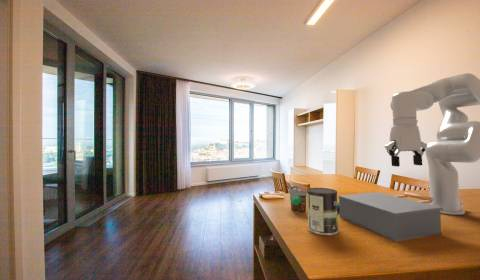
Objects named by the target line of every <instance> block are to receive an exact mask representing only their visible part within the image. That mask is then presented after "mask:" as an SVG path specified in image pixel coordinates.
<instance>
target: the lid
mask: <svg viewBox="0 0 480 280" xmlns="http://www.w3.org/2000/svg"><path fill="white" fill-rule="evenodd" d="M408 197H409V198H413V199H418V200H417V201H416V200H413V199H408ZM339 198H341V199H344V200H348V201H351V202H354V203H357V204H360V205H363V206H366V207H369V208H372V209H375V210H378V211H381V212H384V213H387V214H391V215H394V216H399V215H407V214H414V213H422V212H430V211H438V210H443V207H438V206H434V205H430V203H432V201H433V198H432V197H430V196H427V195H422V194H417V193H412V192H408V191H407V192H406V191H404V192H403V194H401V195H400V194H399V195H391V194H387V193H382V192H378V191H377V192H366V193H365V192H364V193H356V194H355V193H354V194H345V195H341V194H340V195H338V199H339Z"/></svg>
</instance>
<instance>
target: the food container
mask: <svg viewBox="0 0 480 280" xmlns="http://www.w3.org/2000/svg"><path fill="white" fill-rule="evenodd" d="M288 194H289V199H290V208H291V209H290V210H292V212H296V213H307V190H302V189H301V188H298V185H295V186H293V185H292V186H289V189H288Z"/></svg>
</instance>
